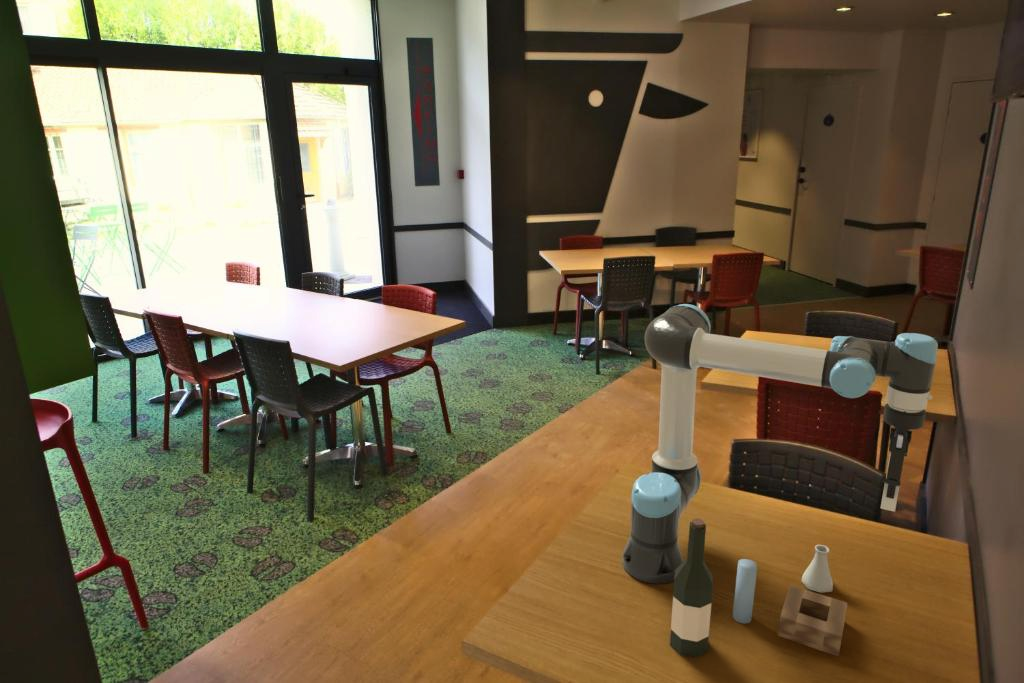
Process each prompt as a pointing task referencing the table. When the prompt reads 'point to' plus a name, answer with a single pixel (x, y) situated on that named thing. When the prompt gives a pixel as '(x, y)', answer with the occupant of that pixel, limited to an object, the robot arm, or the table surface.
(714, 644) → the table surface
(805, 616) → the bore block
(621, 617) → the table surface
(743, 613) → the dowel
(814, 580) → the flask
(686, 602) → the wine bottle
